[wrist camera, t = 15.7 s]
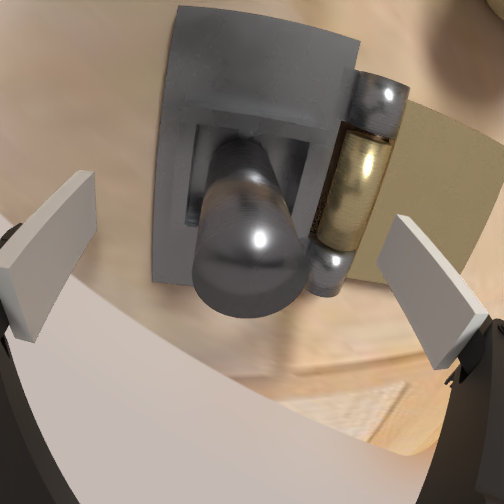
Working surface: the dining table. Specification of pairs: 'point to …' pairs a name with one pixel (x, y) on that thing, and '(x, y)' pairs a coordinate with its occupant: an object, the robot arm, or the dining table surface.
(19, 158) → the dining table surface
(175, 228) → the hinge base
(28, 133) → the dining table surface
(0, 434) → the robot arm
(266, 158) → the pin
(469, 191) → the brass leaf
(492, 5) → the flower pot
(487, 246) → the dining table surface
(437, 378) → the dining table surface
